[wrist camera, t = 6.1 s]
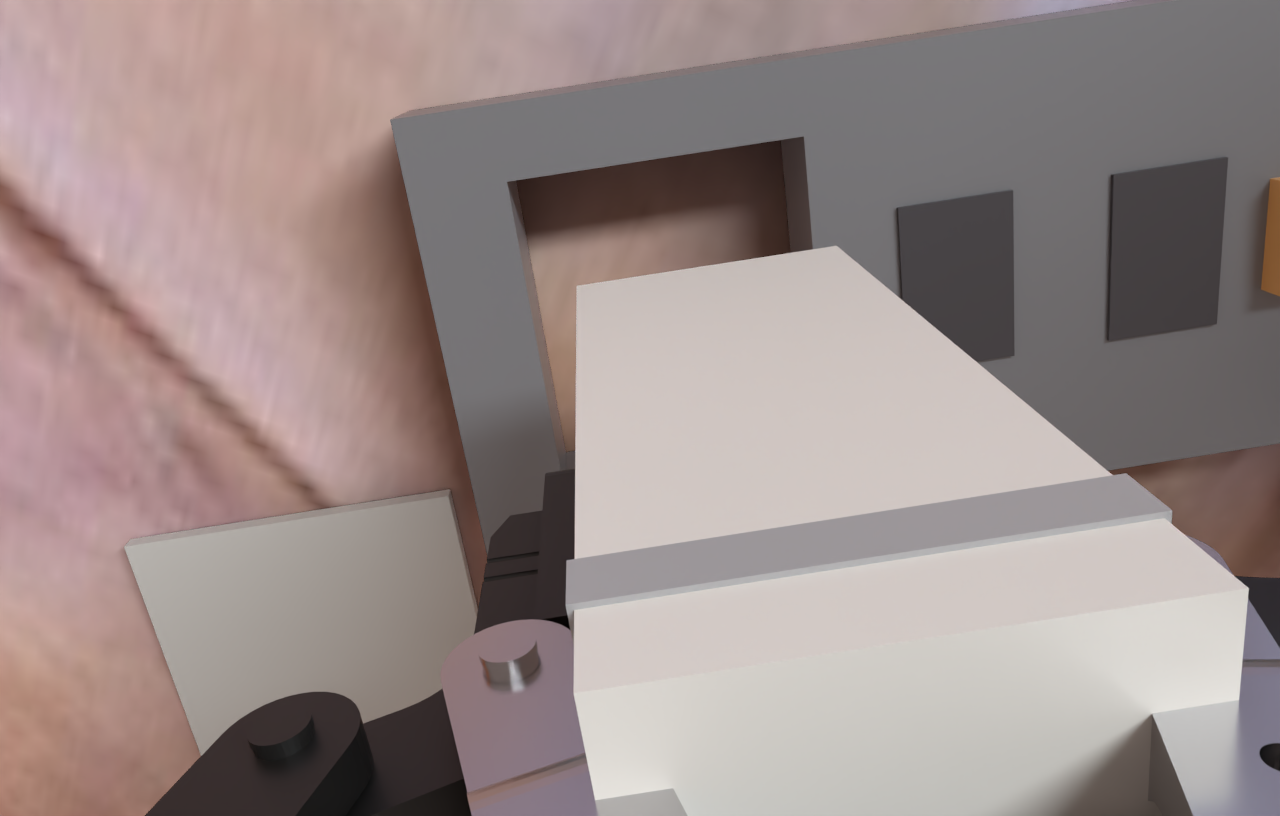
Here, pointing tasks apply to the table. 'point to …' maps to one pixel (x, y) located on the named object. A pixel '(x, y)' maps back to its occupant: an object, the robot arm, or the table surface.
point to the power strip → (925, 216)
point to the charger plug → (860, 565)
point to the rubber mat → (309, 607)
